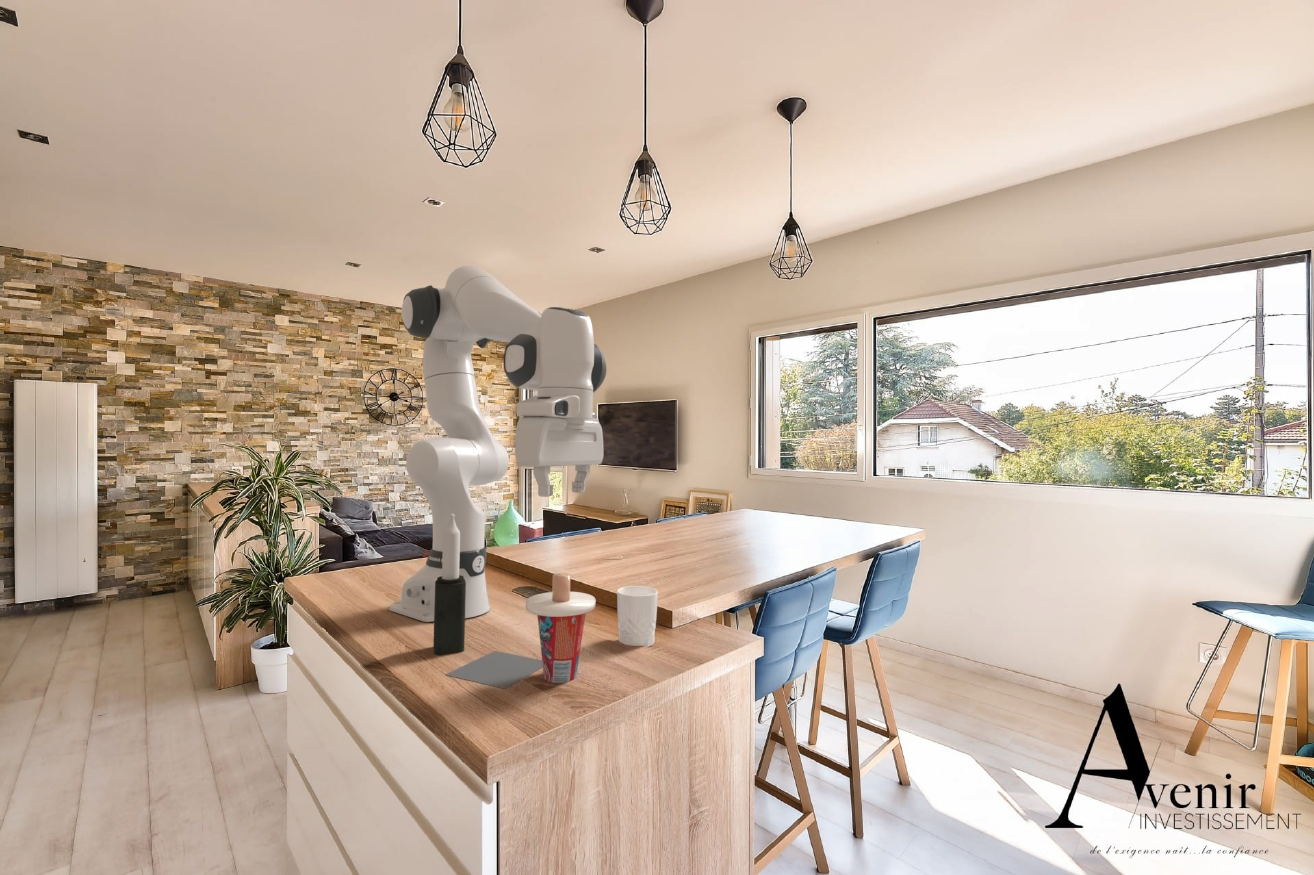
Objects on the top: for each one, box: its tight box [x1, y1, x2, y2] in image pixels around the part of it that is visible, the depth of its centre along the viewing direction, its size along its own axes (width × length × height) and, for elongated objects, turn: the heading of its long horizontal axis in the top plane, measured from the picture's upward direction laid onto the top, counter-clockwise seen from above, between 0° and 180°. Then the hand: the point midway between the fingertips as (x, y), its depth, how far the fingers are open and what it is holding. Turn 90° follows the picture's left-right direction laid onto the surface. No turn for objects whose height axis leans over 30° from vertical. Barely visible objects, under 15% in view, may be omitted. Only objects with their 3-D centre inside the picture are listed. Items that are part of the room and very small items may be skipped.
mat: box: [445, 650, 543, 690], centre depth 94 cm, size 12×12×1 cm
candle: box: [432, 514, 466, 656], centre depth 103 cm, size 5×5×25 cm
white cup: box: [616, 585, 659, 648], centre depth 110 cm, size 8×8×10 cm
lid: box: [525, 572, 597, 617], centre depth 91 cm, size 11×11×5 cm
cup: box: [537, 613, 587, 684], centre depth 91 cm, size 9×8×12 cm
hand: (562, 494), depth 91 cm, fingers open, 8 cm apart
